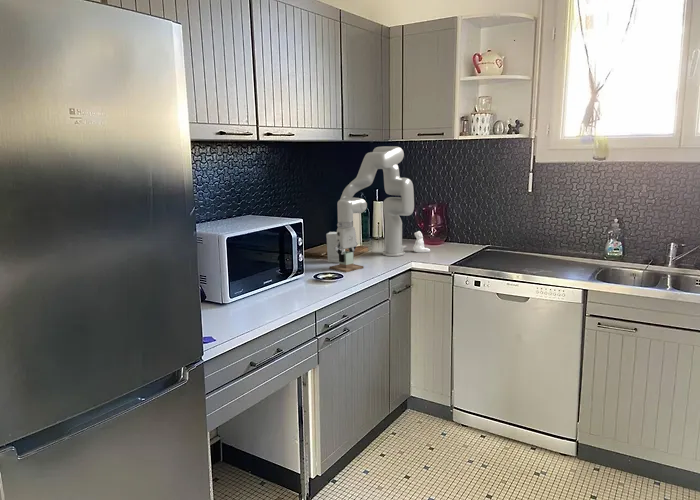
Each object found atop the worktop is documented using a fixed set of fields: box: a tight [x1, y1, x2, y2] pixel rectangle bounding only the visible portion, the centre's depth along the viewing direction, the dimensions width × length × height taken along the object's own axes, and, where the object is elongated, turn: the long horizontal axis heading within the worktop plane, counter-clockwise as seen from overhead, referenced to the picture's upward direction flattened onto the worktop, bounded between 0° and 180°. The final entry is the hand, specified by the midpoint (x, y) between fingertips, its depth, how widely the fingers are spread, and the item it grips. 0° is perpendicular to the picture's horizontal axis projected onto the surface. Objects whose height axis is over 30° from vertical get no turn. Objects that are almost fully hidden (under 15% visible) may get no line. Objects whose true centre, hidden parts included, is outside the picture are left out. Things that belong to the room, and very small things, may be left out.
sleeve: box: [338, 250, 355, 268], centre depth 266 cm, size 5×5×7 cm
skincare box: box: [325, 231, 346, 264], centre depth 280 cm, size 8×7×16 cm
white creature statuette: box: [412, 230, 431, 254], centre depth 302 cm, size 10×9×12 cm
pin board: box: [328, 263, 365, 273], centre depth 266 cm, size 12×12×6 cm
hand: (346, 260), depth 266 cm, fingers open, 5 cm apart
